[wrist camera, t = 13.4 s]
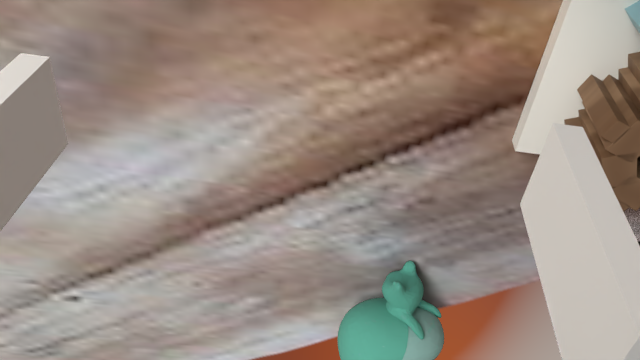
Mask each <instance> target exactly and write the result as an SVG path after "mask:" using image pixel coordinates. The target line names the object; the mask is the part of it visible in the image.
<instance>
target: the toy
mask: <svg viewBox="0 0 640 360" xmlns="http://www.w3.org/2000/svg"><path fill="white" fill-rule="evenodd" d="M423 291H424V288H423V284H422V282H421V280H420V278H419V277H418V275H417V273H416V267H415V264H414V262H412V261H408V262H406V263H405V265H404V267H403V269H402V270H400V271H394V272H391V273H390V274H389V275H388V276H387V277H386V280H385V282H384V283H383V286H382V293H383V295H384V298H374V299H369V300H366V301H363V302H361V303H359V304H357V305H356V306H354V307H353V308H352V309H350V310H349V311H348V312H347V314H346V315H345V316H344V318H343V320H342V322H341V324H340V327H339V331H338V349H339V354H340V358H341V360H434V359H435V358H436V357H437V356H438V355H439V353H440V351H441V349H442V347H443V343H444V333H443V328H442V325H441V323H440V321H439V320H438V318H437V317H439V318H441V313H440V312H439V310H438V309H437V308H436V307H434V306H433V305H432V304H430V303H428V302H426V301H424V300H422V297H423Z"/></svg>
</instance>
